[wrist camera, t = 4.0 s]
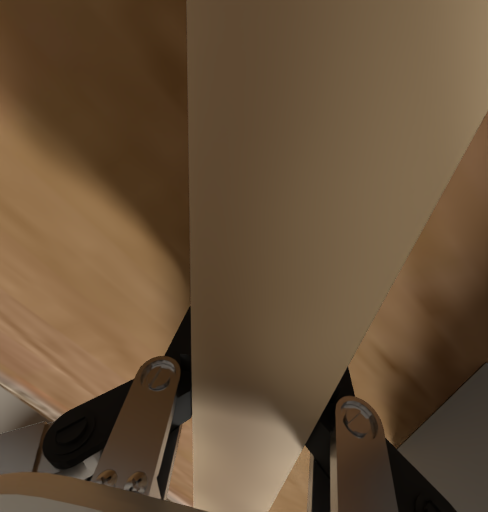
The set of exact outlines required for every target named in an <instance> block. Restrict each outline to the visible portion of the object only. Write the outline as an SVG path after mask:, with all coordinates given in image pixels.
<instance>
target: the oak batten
mask: <svg viewBox="0 0 488 512" xmlns="http://www.w3.org/2000/svg"><path fill="white" fill-rule="evenodd" d="M186 11H187V81H188V151H189V222H190V292H191V362H192V432H193V502H194V508H196V509H200V510H204V511H208V512H268V511H269V509H270V508H271V506H272V504H273V502H274V500H275V498H276V497H277V495H278V493H279V491H280V489H281V488H282V486H283V484H284V482H285V480H286V478H287V477H288V475H289V473H290V471H291V469H292V467H293V466H294V464H295V462H296V460H297V458H298V456H299V455H300V453H301V451H302V449H303V447H304V445H305V444H306V442H307V440H308V438H309V436H310V435H311V433H312V431H313V429H314V427H315V425H316V424H317V422H318V420H319V418H320V416H321V414H322V413H323V411H324V409H325V407H326V405H327V403H328V402H329V400H330V398H331V396H332V394H333V392H334V391H335V389H336V387H337V385H338V383H339V381H340V380H341V378H342V376H343V374H344V372H345V371H346V369H347V367H348V365H349V363H350V361H351V360H352V358H353V356H354V354H355V352H356V350H357V349H358V347H359V345H360V343H361V341H362V339H363V338H364V336H365V334H366V332H367V330H368V328H369V327H370V325H371V323H372V321H373V319H374V318H375V316H376V314H377V312H378V310H379V308H380V307H381V305H382V303H383V301H384V299H385V297H386V296H387V294H388V292H389V290H390V288H391V286H392V285H393V283H394V281H395V279H396V277H397V275H398V274H399V272H400V270H401V268H402V266H403V265H404V263H405V261H406V259H407V257H408V255H409V254H410V252H411V250H412V248H413V246H414V244H415V243H416V241H417V239H418V237H419V235H420V233H421V232H422V230H423V228H424V226H425V224H426V222H427V221H428V219H429V217H430V215H431V213H432V212H433V210H434V208H435V206H436V204H437V202H438V201H439V199H440V197H441V195H442V193H443V191H444V190H445V188H446V186H447V184H448V182H449V180H450V179H451V177H452V175H453V173H454V171H455V169H456V168H457V166H458V164H459V162H460V160H461V159H462V157H463V155H464V153H465V151H466V149H467V148H468V146H469V144H470V142H471V140H472V138H473V137H474V135H475V133H476V131H477V129H478V127H479V126H480V124H481V122H482V120H483V118H484V116H485V115H486V113H487V111H488V0H186Z"/></svg>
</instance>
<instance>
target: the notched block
mask: <svg viewBox="0 0 488 512" xmlns="http://www.w3.org/2000/svg"><path fill="white" fill-rule="evenodd" d="M397 450H398V451H399V452H400V453H401V454H402V455H403V456H404V457H405V458H406V459H407V460H408V461H409V462H410V463H411V464H412V465H413V466H414V467H415V468H416V469H417V470H418V471H419V472H420V473H421V474H422V475H423V476H424V477H425V478H426V479H427V480H428V481H429V482H430V483H431V484H432V485H433V486H434V487H435V488H436V489H437V490H438V491H439V492H440V493H441V494H442V495H443V496H444V498H445V499H446V500H447V501H448V502H449V503H450V504H451V505H452V506H453V507H454V509H455V510H456V511H457V512H488V363H485V364H484V365H483V366H482V367H481V368H480V369H479V370H478V371H477V372H476V373H475V374H474V375H473V376H472V377H471V378H470V379H469V380H468V381H467V382H466V383H465V384H464V385H463V386H462V387H461V388H460V389H459V390H458V391H456V392H455V393H454V394H453V395H452V396H451V397H450V398H449V399H448V400H447V401H446V402H445V403H444V404H443V405H442V406H441V407H440V408H439V409H438V410H437V411H436V412H435V413H434V414H433V415H432V416H431V417H430V418H429V419H428V420H427V421H426V422H425V423H424V424H423V425H422V426H421V427H419V428H418V429H417V430H416V431H415V432H414V433H413V434H412V435H411V436H410V437H409V438H408V439H407V440H406V441H405V442H404V443H403V444H402V445H401V446H400V447H399V448H398V449H397Z"/></svg>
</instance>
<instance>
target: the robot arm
mask: <svg viewBox="0 0 488 512" xmlns="http://www.w3.org/2000/svg"><path fill="white" fill-rule="evenodd" d="M191 416H192V362H191V306H190V307H189V309H188V311H187V313H186V315H185V317H184V319H183V321H182V322H181V324H180V326H179V328H178V330H177V332H176V334H175V336H174V338H173V340H172V342H171V344H170V346H169V348H168V350H167V352H166V354H165V356H158V357H154V358H151V359H150V360H148V361H146V362H145V363H144V364H143V365H142V366H141V367H140V369H139V370H138V372H137V374H136V376H135V378H134V379H133V380H131V381H129V382H127V383H125V384H123V385H120V386H118V387H116V388H114V389H112V390H110V391H108V392H106V393H104V394H102V395H100V396H98V397H96V398H94V399H92V400H90V401H88V402H86V403H83V404H81V405H79V406H77V407H75V408H73V409H71V410H69V411H68V412H66V413H65V414H63V415H62V416H60V417H59V418H58V419H57V420H56V421H54V422H51V423H48V424H47V423H46V422H45V421H44V422H40V423H37V424H33V425H30V426H26V427H23V428H19V429H16V430H13V431H9V432H6V433H2V434H0V512H208V511H204V510H200V509H196V508H193V507H189V506H185V505H181V504H177V503H173V502H170V501H166V498H167V493H168V489H169V484H170V480H171V475H172V470H173V466H174V461H175V456H176V452H177V447H178V442H179V438H180V433H181V428H182V424H183V423H184V422H185V421H187V420H189V419H190V418H191ZM305 446H306V447H307V448H308V450H309V451H310V465H309V484H308V503H307V512H457V511H456V510H455V509H454V507H453V506H452V505H451V504H450V503H449V502H448V501H447V500H446V499H445V498H444V496H443V495H442V494H441V493H440V492H439V491H438V490H437V489H436V488H435V487H434V486H433V485H432V484H431V483H430V482H429V481H428V480H427V479H426V478H425V477H424V476H423V475H422V474H421V473H420V472H419V471H418V470H417V469H416V468H415V467H414V466H413V465H412V464H411V463H410V462H409V461H408V460H407V459H406V458H405V457H404V456H403V455H402V454H401V453H400V452H399V451H398V450H397V449H396V448H395V447H394V446H393V445H392V444H391V443H390V442H389V441H388V440H387V439H386V438H385V434H384V429H383V425H382V422H381V419H380V418H379V416H378V414H377V413H376V411H375V410H374V409H373V408H372V407H371V406H370V405H369V404H368V403H366V402H365V401H364V400H362V399H359V398H357V397H355V395H354V390H353V386H352V382H351V378H350V373H349V369H348V367H347V369H346V371H345V372H344V374H343V376H342V378H341V380H340V381H339V383H338V385H337V387H336V389H335V391H334V392H333V394H332V396H331V398H330V400H329V402H328V403H327V405H326V407H325V409H324V411H323V413H322V414H321V416H320V418H319V420H318V422H317V424H316V425H315V427H314V429H313V431H312V433H311V435H310V436H309V438H308V440H307V442H306V444H305Z"/></svg>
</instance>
